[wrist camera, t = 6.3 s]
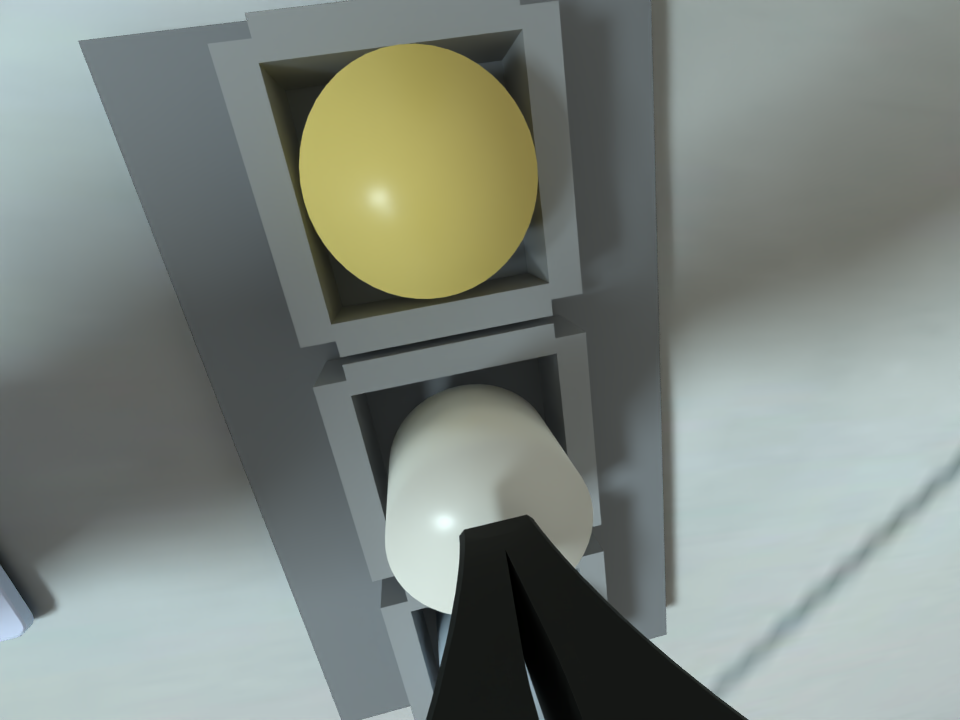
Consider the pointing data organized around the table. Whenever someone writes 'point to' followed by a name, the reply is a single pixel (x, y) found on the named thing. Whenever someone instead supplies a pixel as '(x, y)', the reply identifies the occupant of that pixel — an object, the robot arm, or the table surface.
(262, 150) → the panel
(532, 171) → the button mustard
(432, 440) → the button ivory
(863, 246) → the table surface
